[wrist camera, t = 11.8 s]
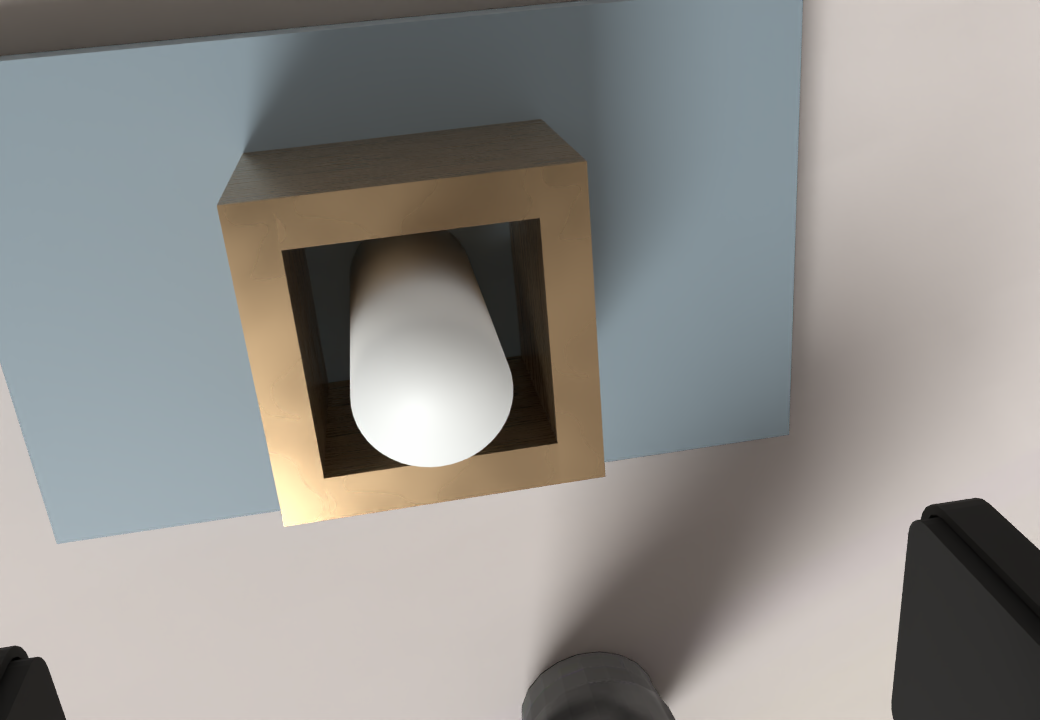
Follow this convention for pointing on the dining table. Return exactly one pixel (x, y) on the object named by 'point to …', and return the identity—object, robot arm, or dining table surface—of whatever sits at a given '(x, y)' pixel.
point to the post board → (225, 95)
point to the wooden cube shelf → (401, 211)
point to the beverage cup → (594, 691)
